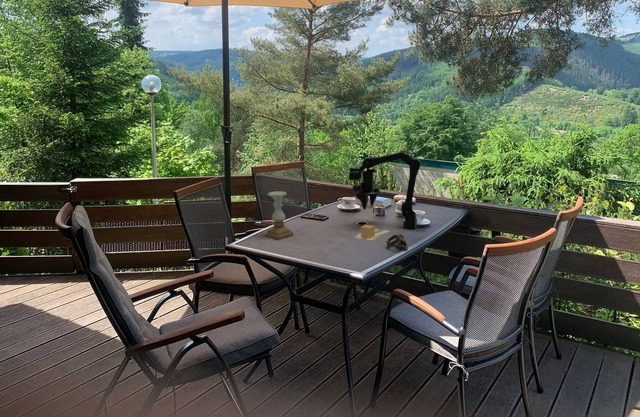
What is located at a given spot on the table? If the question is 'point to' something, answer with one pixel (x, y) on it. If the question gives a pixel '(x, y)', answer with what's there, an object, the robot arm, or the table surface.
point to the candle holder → (278, 218)
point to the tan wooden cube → (367, 231)
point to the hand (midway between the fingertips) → (368, 207)
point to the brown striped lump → (397, 241)
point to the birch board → (378, 235)
